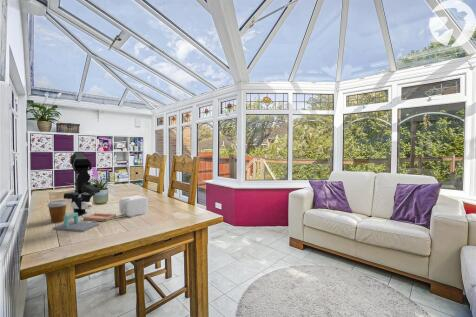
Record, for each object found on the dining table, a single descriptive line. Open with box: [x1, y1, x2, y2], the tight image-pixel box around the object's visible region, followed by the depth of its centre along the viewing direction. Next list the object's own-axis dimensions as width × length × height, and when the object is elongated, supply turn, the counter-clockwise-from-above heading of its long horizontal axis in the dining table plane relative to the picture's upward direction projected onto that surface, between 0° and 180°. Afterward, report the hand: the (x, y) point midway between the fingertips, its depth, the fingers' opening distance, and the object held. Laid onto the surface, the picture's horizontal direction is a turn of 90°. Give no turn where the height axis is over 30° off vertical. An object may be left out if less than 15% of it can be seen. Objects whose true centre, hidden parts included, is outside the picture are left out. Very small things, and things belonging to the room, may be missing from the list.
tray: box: [83, 212, 117, 223], centre depth 148 cm, size 16×9×2 cm, turn 78°
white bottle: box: [70, 201, 93, 210], centre depth 131 cm, size 11×4×4 cm, turn 78°
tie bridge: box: [63, 212, 79, 227], centre depth 133 cm, size 2×7×6 cm, turn 168°
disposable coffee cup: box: [47, 199, 68, 224], centre depth 142 cm, size 10×10×12 cm
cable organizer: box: [118, 194, 149, 218], centre depth 157 cm, size 15×11×12 cm
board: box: [52, 220, 100, 233], centre depth 132 cm, size 20×11×1 cm, turn 78°
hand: (83, 207), depth 131 cm, fingers closed on white bottle, 4 cm apart
